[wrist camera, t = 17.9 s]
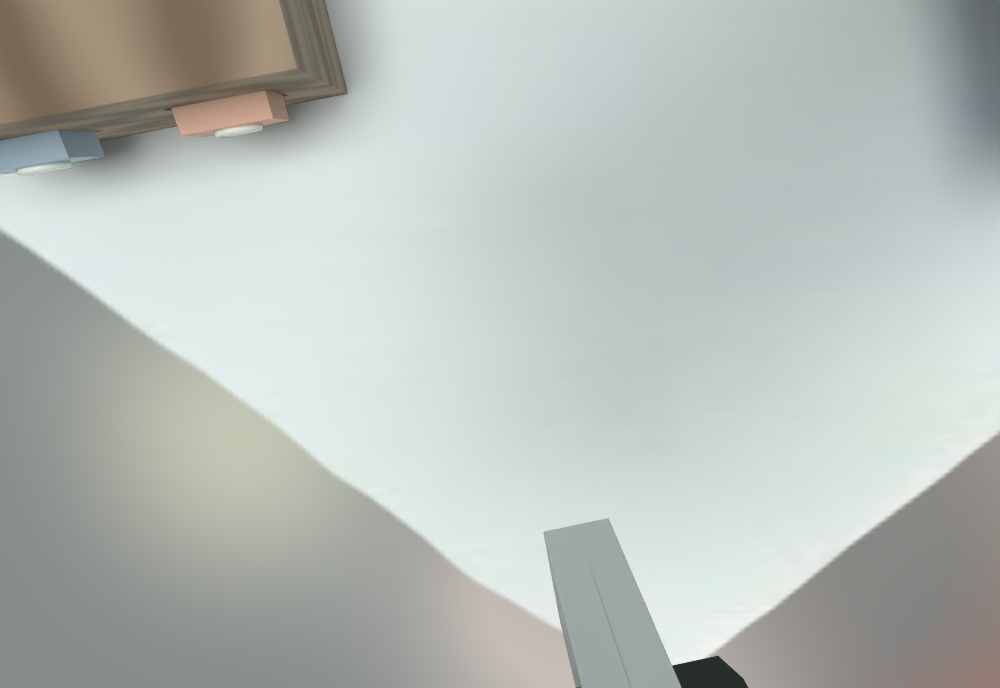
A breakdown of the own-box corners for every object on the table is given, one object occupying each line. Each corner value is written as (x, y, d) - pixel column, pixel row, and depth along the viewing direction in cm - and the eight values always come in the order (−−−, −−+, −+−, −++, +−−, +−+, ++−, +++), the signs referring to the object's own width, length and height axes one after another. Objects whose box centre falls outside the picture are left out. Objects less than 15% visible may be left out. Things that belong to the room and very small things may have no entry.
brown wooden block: (313, -44, 36) (238, -150, 23) (347, 93, 39) (297, 68, 26) (-39, 21, 36) (-320, -49, 23) (20, 155, 39) (-201, 162, 25)
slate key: (61, 44, 32) (17, 33, 29) (107, 161, 34) (71, 163, 31) (-29, 61, 32) (-84, 52, 29) (22, 177, 34) (-23, 181, 31)
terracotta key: (257, 7, 33) (236, -8, 29) (291, 125, 35) (274, 124, 31) (168, 23, 32) (137, 10, 29) (207, 141, 35) (182, 141, 31)
